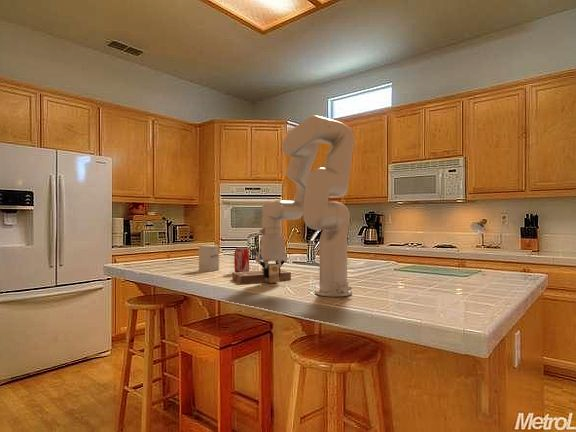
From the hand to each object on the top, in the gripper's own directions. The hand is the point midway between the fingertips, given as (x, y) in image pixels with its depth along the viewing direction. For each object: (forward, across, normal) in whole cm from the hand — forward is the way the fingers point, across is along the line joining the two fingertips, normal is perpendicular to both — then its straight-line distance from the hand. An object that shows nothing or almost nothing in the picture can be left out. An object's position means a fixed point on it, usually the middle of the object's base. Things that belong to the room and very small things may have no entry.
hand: (271, 276), depth 150 cm
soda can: (+2, -2, +32) cm, 32 cm away
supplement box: (+3, -14, +48) cm, 50 cm away
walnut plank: (+2, -1, +9) cm, 9 cm away
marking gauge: (+2, 0, +3) cm, 4 cm away
